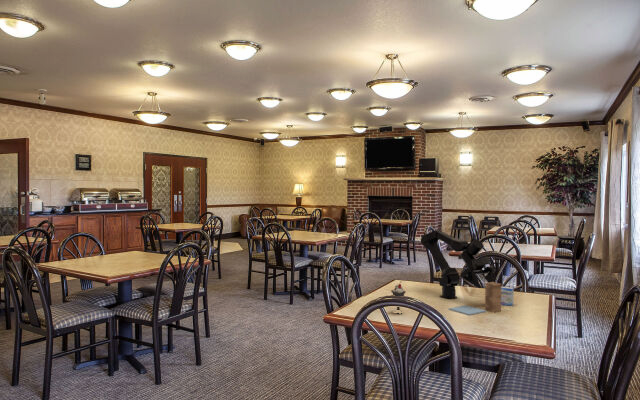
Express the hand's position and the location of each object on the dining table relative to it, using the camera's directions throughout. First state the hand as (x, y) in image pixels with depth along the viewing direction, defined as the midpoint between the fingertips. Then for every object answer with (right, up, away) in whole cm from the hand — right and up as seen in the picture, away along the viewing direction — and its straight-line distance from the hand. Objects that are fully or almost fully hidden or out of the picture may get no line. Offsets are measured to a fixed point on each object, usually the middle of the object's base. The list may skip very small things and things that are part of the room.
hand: (487, 286), depth 223 cm
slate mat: (-11, -11, -4) cm, 16 cm away
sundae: (-45, -11, -9) cm, 47 cm away
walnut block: (+2, -11, -3) cm, 11 cm away
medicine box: (+12, -11, +10) cm, 19 cm away
